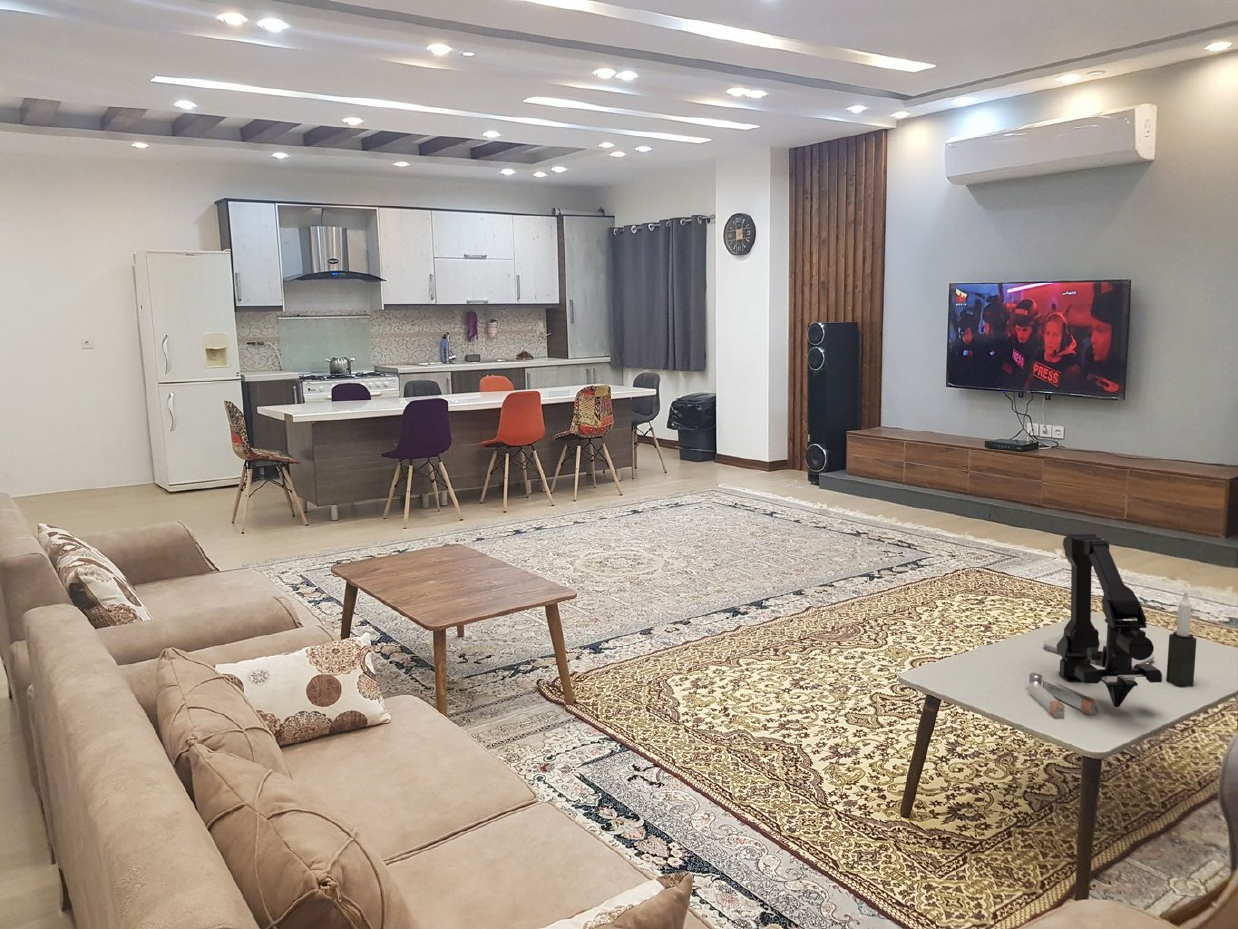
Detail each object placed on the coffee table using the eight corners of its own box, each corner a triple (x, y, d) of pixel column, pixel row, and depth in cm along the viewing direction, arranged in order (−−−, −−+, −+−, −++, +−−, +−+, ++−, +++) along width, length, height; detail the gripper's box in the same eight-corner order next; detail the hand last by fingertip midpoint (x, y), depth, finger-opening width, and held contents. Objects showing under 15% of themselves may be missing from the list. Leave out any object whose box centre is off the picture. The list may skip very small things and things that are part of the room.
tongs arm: (1042, 691, 246) (1042, 679, 246) (1048, 690, 247) (1049, 678, 246) (1090, 715, 231) (1091, 702, 231) (1097, 713, 232) (1098, 701, 231)
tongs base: (1022, 687, 249) (1023, 673, 249) (1038, 687, 249) (1039, 672, 249) (1054, 718, 230) (1055, 702, 229) (1071, 718, 230) (1072, 702, 229)
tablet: (1129, 676, 257) (1129, 668, 256) (1039, 650, 278) (1039, 643, 277) (1158, 662, 266) (1158, 654, 266) (1069, 638, 287) (1069, 631, 287)
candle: (1164, 680, 252) (1170, 589, 248) (1182, 679, 252) (1188, 588, 249) (1176, 687, 247) (1183, 594, 243) (1195, 686, 247) (1201, 593, 244)
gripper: (1141, 634, 238) (1137, 693, 240) (1065, 635, 238) (1063, 694, 241) (1165, 649, 227) (1161, 711, 229) (1086, 650, 227) (1083, 712, 230)
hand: (1116, 706), depth 232 cm, fingers closed
